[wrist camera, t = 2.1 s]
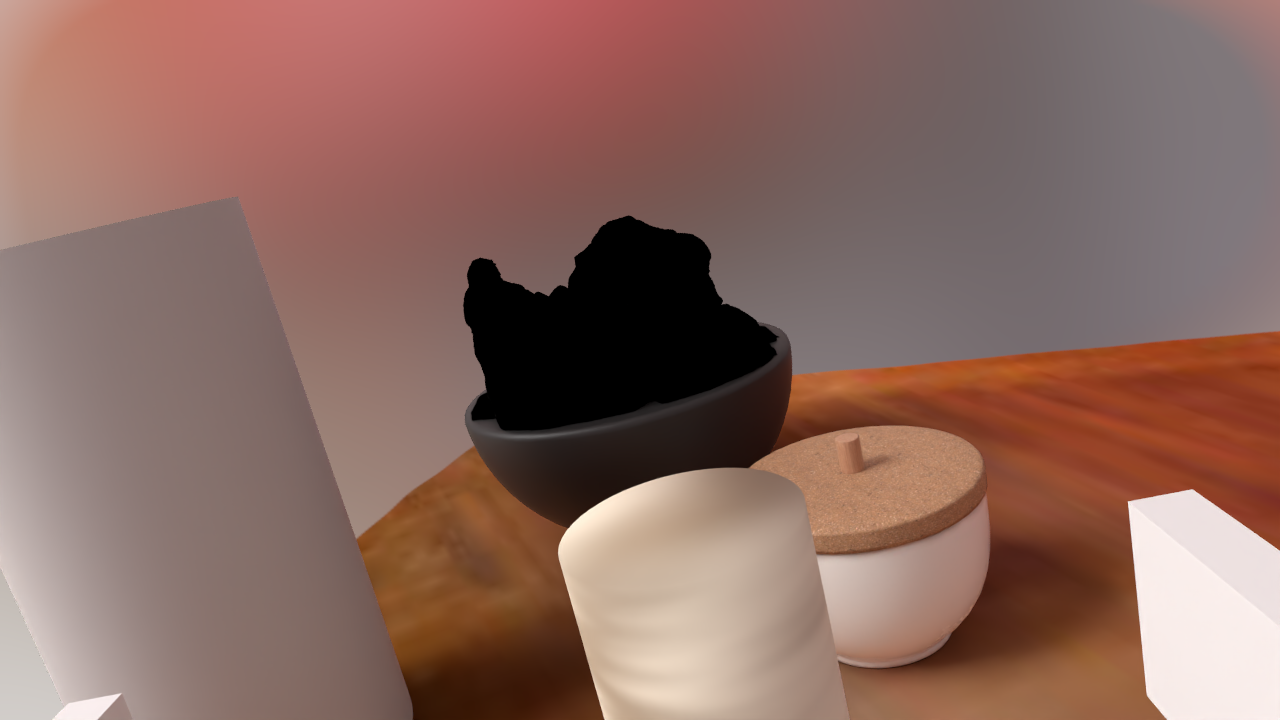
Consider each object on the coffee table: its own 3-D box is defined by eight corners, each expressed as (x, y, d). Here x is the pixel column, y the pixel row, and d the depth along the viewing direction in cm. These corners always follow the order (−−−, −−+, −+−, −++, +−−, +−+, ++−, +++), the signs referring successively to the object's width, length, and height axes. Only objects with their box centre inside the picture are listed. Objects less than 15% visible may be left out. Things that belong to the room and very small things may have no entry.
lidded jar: (926, 545, 48) (897, 375, 45) (1064, 647, 37) (1036, 435, 35) (734, 611, 46) (693, 438, 44) (824, 738, 36) (778, 521, 33)
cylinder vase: (81, 931, 35) (-223, 304, 29) (187, 731, 47) (-11, 258, 41) (404, 830, 36) (179, 206, 30) (427, 660, 48) (269, 190, 42)
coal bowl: (825, 437, 65) (773, 173, 60) (813, 588, 46) (737, 222, 42) (562, 473, 70) (496, 233, 66) (457, 620, 52) (354, 300, 47)
